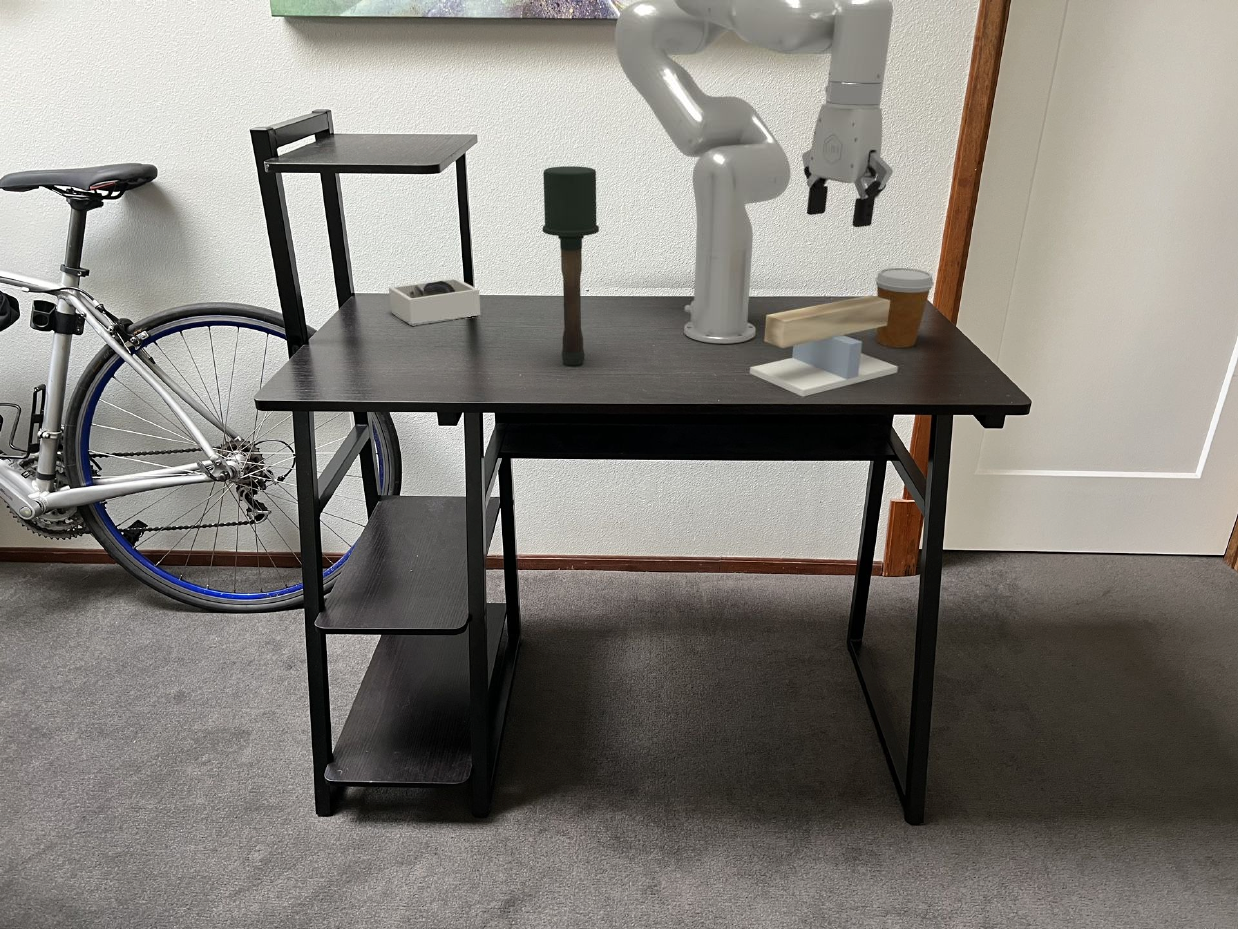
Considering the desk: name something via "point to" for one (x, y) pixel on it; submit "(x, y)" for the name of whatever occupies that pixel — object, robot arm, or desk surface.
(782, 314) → the rod
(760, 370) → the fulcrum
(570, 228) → the potato masher grenade
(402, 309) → the beige open storage bin
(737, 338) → the robot arm
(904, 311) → the disposable coffee cup
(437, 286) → the eagle figurine
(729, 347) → the desk surface
